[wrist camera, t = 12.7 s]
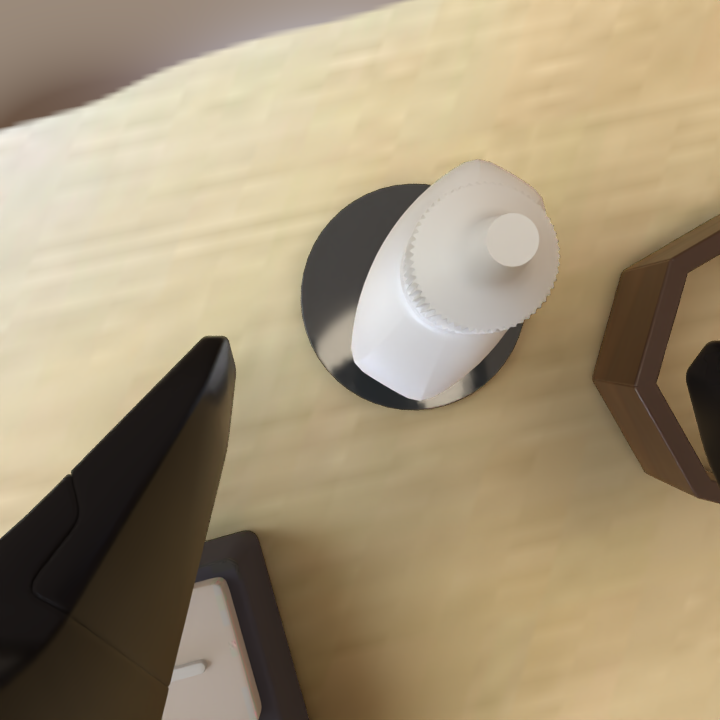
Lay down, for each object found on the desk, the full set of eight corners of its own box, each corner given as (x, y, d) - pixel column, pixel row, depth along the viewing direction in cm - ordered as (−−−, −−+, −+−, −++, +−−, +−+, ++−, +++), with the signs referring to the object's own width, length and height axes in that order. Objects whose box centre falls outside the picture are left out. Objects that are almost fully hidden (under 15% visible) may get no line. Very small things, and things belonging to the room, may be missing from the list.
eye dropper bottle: (318, 290, 18) (241, 203, 6) (450, 213, 18) (620, -21, 6) (378, 392, 19) (410, 490, 7) (508, 316, 19) (781, 276, 7)
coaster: (397, 453, 19) (397, 455, 19) (256, 283, 19) (254, 282, 18) (568, 313, 19) (572, 313, 19) (428, 140, 19) (430, 135, 18)
